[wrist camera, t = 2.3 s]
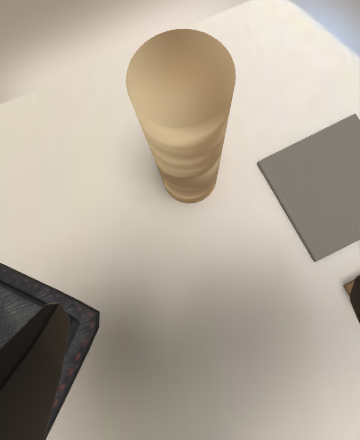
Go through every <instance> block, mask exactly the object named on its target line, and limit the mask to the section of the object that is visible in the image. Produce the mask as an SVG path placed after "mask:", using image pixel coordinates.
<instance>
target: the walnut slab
mask: <svg viewBox="0 0 360 440" xmlns="http://www.w3.org/2000/svg"><path fill="white" fill-rule="evenodd" d="M353 283H354V280H353V281H351V282H350V283H348V284H346V285H344V287H345V289H346V290H347V292H348V294H349V295H350V292H351V289H352V286H353Z"/></svg>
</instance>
